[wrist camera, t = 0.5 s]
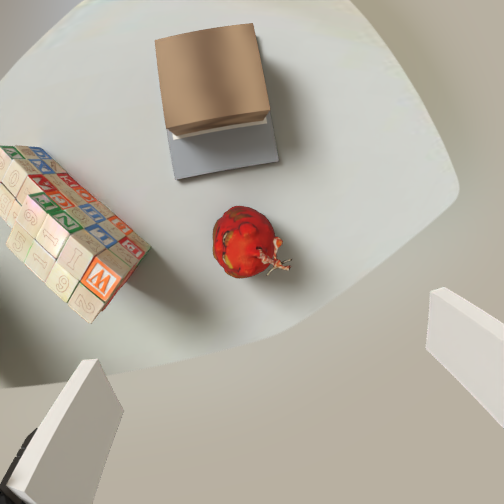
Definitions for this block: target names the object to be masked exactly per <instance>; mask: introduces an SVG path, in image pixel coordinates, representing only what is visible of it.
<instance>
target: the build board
mask: <svg viewBox="0 0 504 504" xmlns="http://www.w3.org/2000/svg"><path fill="white" fill-rule="evenodd" d="M167 135H168V142H169V148H170V154H171V159H172V165H173V171H174V176H175V180H178V179H182V178H187V177H192V176H197V175H202V174H207V173H212V172H218V171H223V170H229V169H234V168H240V167H246V166H252V165H258V164H265V163H271V162H278V161H279V159H278V153H277V147H276V141H275V135H274V130H273V124H272V118H271V113H270V111H269V113H268V114H267V116H266V117H265V118H264V120H263V121H256V122H249V123H242V124H236V125H230V126H224V127H218V128H213V129H208V130H202V131H197V132H192V133H188V134H183V135H178V136H176V135H174V134H173V133H172V132H170V131H169V130H168V129H167Z"/></svg>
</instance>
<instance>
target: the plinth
mask: <svg viewBox="0 0 504 504" xmlns="http://www.w3.org/2000/svg"><path fill="white" fill-rule="evenodd" d="M155 48H156V57H157V66H158V74H159V82H160V89H161V97H162V104H163V111H164V118H165V124H166V129H168V130H169V131H170V132H172V133H173V134H174V135H176V136H178V135H183V134H188V133H192V132H197V131H202V130H208V129H213V128H218V127H224V126H230V125H236V124H242V123H249V122H256V121H263V120H264V118H265V117H266V116H267V114H268V113H269V111H270V105H269V100H268V94H267V89H266V84H265V79H264V74H263V69H262V64H261V59H260V54H259V49H258V45H257V40H256V35H255V31H254V26H253V23H250V24H240V25H232V26H224V27H217V28H211V29H205V30H199V31H194V32H189V33H184V34H179V35H175V36H170V37H166V38H162V39H158V40H155Z"/></svg>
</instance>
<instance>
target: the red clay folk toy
mask: <svg viewBox="0 0 504 504" xmlns="http://www.w3.org/2000/svg"><path fill="white" fill-rule="evenodd" d="M282 244H283V241H282V240H281V239H280V238H279V237H275V233H274V230H273V227H272V225H271V224H270V222H269V220H268V219H267V218H266V217H265V216H264V215H263V214H261V213H259V212H257V211H256V210H254V209H252V208H249V207H244V206H234V207H232V208H230V209H229V210H228V211H227V212H225V213H224V215H223V217H221V218H220V219H219V220H217V222H216V223H215V226H214V229H213V255H214V258H215V259H216V260H217V261H218V263H219V264H220V265H221V266H222V267H223V268H224V270H225V272H226V273H227V274H228V275H230V276H232V277H235V278H247V277H251V276H253V275H256V274H258V273H260V272H262V271H264V270H265V269H266V268H267V267H268V266H269V265H270V263H271V264H272V265H273V268H272V269H271V270H269V272H268V273H267V274H266V276H269V273H270V272H272V271H273V270H275V269H276V268H281V269H283V270H289V269H290V268H291V266H290V265H289V266H283V265H282V264H283V263H285V262H288V261H291V260H292V259H289V260H285V261H284V262H281V261H280V260H278V259H277V258H276V255H277V250H278V248H279V247H280V246H281V245H282ZM273 256H274V259H272V258H273Z"/></svg>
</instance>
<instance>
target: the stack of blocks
mask: <svg viewBox="0 0 504 504" xmlns="http://www.w3.org/2000/svg"><path fill="white" fill-rule="evenodd" d="M0 216H1V217H2V219H3V220H4V221H6V223H7V224H8V225H9V226H10V227H11V228H12V231H11V233H10V236H9V238H8V240H7V242H6V246H7V247H8V248H9V249H10V250H11V251H12V252H13V253H14V254H15V255H16V256H17V257H18V258H19V259H20V260H21V261H22V262H23V263H25V265H26V266H27V267H28V268H29V269H30V270H31V271H32V272H33V273H35V274H36V275H37V276H38V277H39V278H40V279H41V280H42V281H43V282H45V284H46V285H47V286H48V287H49V288H50V289H51V290H52V291H53V292H54V293H55V294H56V295H57V296H59V297H60V298H61V299H62V300H63V301H64V302H66V303H67V304H68V306H69V307H70V308H72V309H73V310H74V311H75V312H76V313H77V314H79V315H80V316H81V317H82V318H83V319H85V320H86V321H87V322H88V323H90V324H91V323H92V322H93V321H94V319H95V318H96V317H97V316H98V314H99V313H100V312H101V311H103V310H104V309H105V308H106V307H107V305H108V304H109V303H110V301H111V300H112V299H113V297H114V296H115V294H116V293H117V292H118V291H119V289H120V288H121V287H122V286H123V285H124V284H125V282H126V281H127V280H128V278H129V277H130V275H131V274H132V273H133V271H134V270H135V269H136V267H137V266H138V264H139V263H140V261H141V260H142V259H143V257H144V256H145V255H146V253H147V252H148V251H149V249H150V248H151V246H150V245H149V244H148V243H146V242H145V241H144V240H143V239H142V238H140V237H139V236H138V235H137V234H136V233H135V232H133V230H132V229H131V228H130V227H129V226H127V225H126V224H125V223H124V222H123V221H122V220H120V219H119V218H118V217H117V216H116V215H115V214H114V213H112V212H111V211H110V210H109V209H108V208H107V207H106V206H105V205H103V204H102V203H101V202H100V201H97V200H96V199H95V198H94V197H93V196H92V195H91V194H90V193H89V192H87V191H86V190H85V189H84V188H83V187H81V186H80V185H79V184H78V183H77V182H76V181H75V180H74V179H72V178H71V177H70V176H69V175H68V174H67V172H66V171H65V170H64V169H63V168H62V167H61V166H60V165H59V164H58V163H57V162H55V161H54V160H53V159H52V158H51V157H50V156H49V155H48V154H47V153H46V152H45V151H44V150H42V149H41V148H40V147H28V146H17V145H16V146H0Z"/></svg>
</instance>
